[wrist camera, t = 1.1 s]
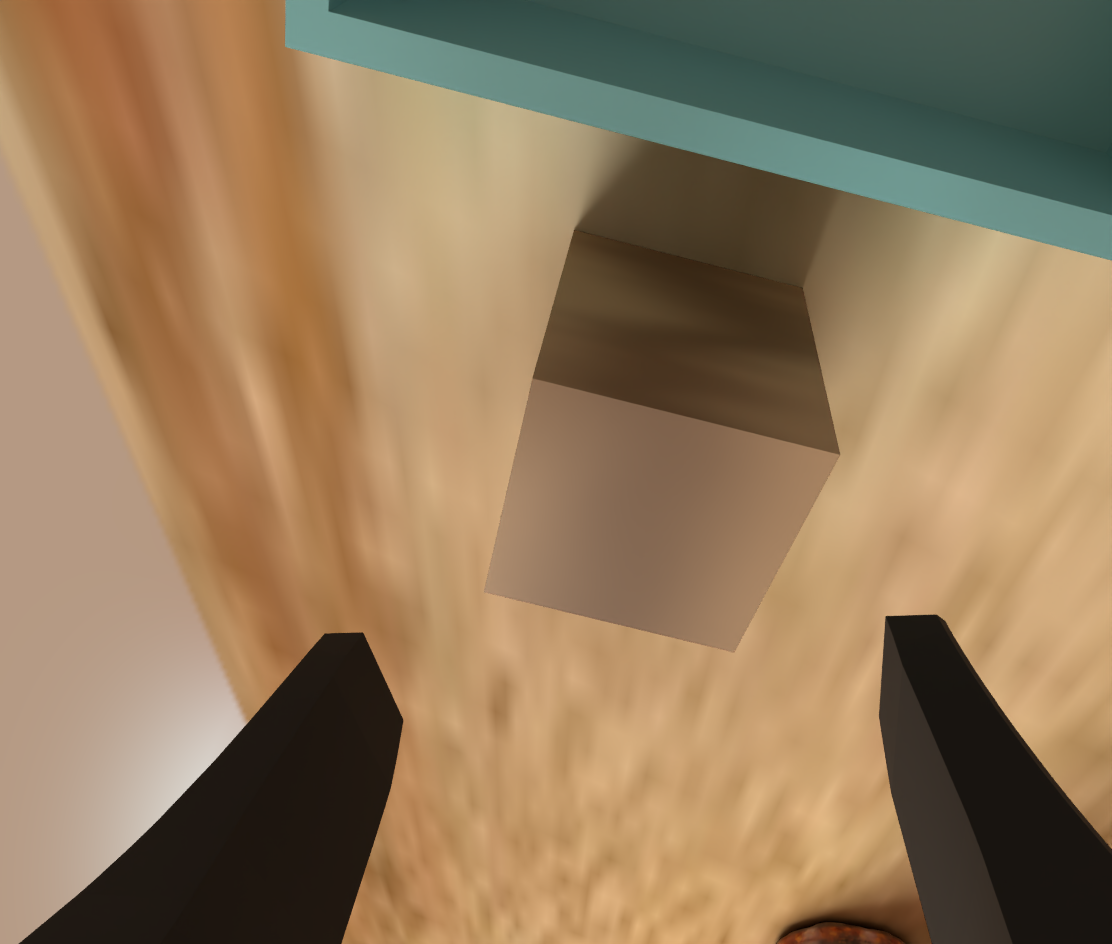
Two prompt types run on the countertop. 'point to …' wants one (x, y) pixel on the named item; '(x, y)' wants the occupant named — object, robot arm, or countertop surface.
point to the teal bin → (794, 89)
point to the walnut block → (664, 445)
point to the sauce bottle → (838, 935)
